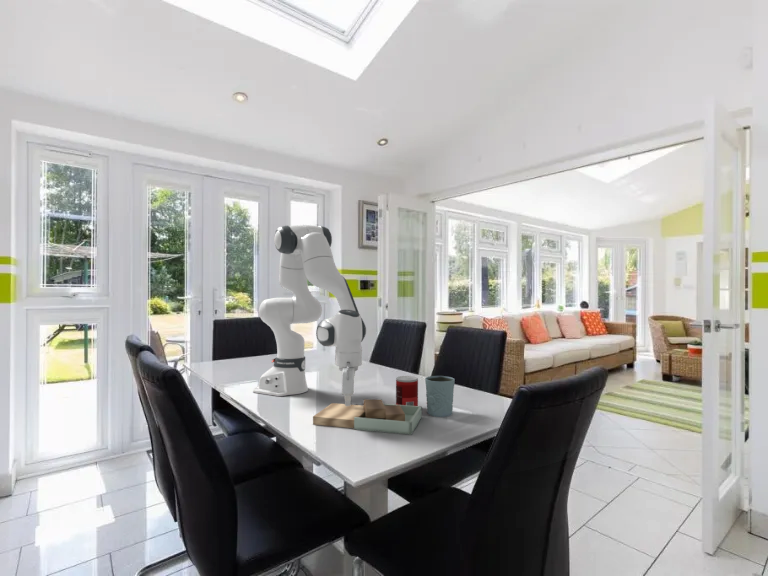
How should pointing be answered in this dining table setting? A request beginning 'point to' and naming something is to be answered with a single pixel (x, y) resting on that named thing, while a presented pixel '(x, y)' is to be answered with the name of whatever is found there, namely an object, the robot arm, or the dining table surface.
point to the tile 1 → (374, 408)
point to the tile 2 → (394, 413)
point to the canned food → (407, 390)
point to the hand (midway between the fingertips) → (348, 401)
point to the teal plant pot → (439, 395)
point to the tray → (392, 421)
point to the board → (339, 415)
